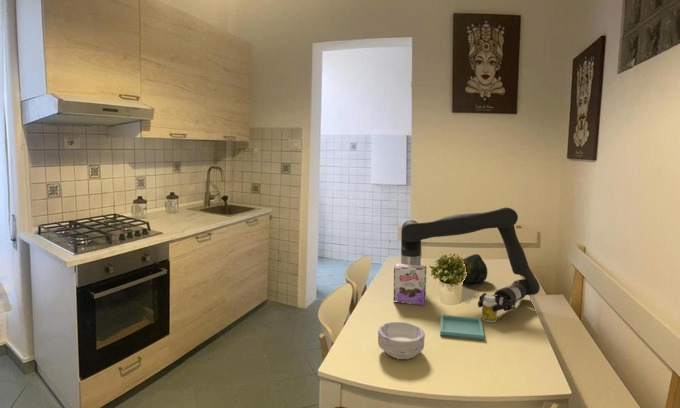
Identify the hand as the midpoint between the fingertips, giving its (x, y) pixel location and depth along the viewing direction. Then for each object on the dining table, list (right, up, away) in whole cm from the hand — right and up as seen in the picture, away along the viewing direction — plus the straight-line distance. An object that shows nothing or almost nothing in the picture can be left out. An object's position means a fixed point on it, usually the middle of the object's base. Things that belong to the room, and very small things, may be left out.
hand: (486, 306), depth 158 cm
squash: (+10, 0, +48) cm, 49 cm away
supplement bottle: (+2, -6, +3) cm, 7 cm away
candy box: (-26, -4, +22) cm, 34 cm away
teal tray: (-11, -7, -5) cm, 14 cm away
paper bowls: (-36, -10, -22) cm, 44 cm away
